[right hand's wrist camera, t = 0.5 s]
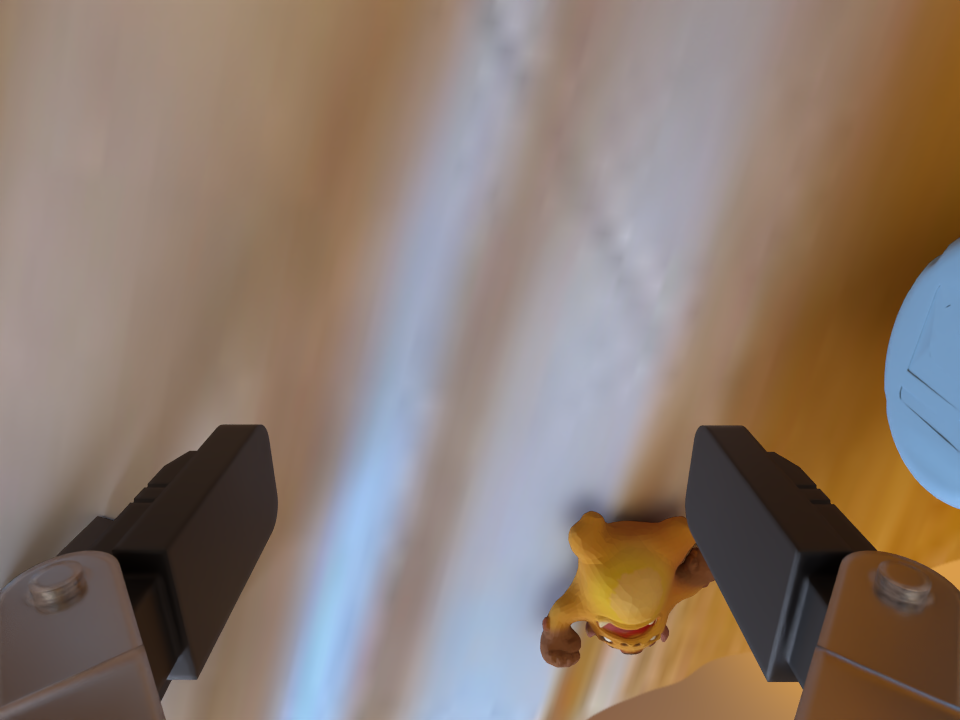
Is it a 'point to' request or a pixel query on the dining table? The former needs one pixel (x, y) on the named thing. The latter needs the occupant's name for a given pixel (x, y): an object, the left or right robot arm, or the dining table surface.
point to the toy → (623, 585)
